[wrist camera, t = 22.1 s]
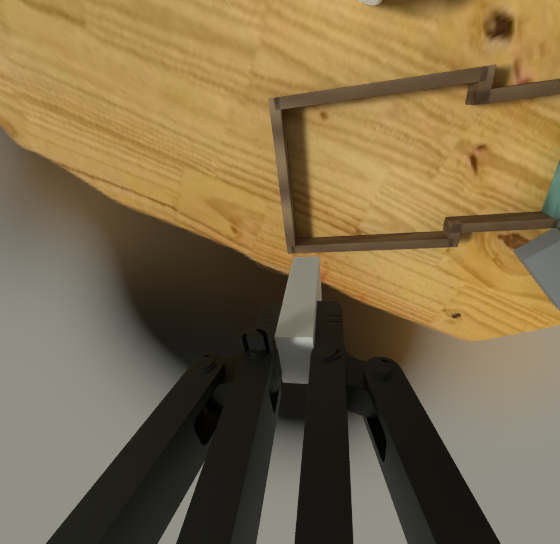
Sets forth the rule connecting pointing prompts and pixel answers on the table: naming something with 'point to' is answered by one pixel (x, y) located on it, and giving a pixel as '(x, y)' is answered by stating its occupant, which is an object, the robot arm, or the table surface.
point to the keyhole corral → (554, 215)
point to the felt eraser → (544, 262)
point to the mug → (370, 2)
